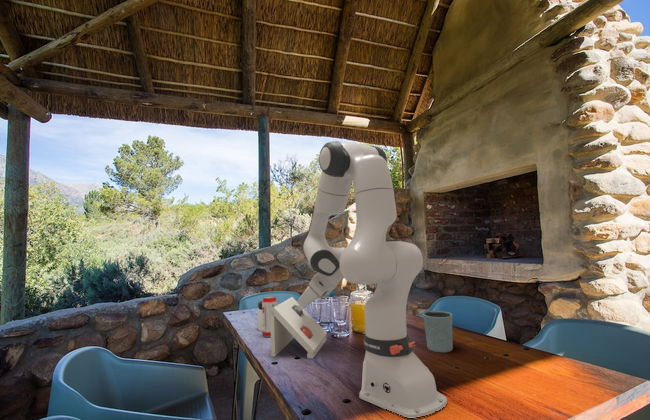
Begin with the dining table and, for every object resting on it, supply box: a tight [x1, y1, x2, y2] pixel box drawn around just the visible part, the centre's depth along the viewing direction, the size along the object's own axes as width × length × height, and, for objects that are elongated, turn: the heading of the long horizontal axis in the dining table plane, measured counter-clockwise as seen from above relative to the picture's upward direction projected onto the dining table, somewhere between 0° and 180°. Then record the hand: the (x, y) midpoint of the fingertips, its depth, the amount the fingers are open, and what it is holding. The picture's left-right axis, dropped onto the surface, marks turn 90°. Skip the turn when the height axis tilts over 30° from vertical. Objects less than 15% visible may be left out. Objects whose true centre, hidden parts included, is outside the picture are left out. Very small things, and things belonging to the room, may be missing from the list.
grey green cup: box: [422, 310, 454, 353], centre depth 121 cm, size 10×10×12 cm
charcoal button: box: [293, 306, 303, 316], centre depth 131 cm, size 5×4×5 cm
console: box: [270, 296, 328, 359], centre depth 126 cm, size 16×20×17 cm
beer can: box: [262, 295, 278, 338], centre depth 143 cm, size 6×6×16 cm
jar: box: [256, 300, 263, 333], centre depth 153 cm, size 9×8×12 cm
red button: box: [300, 326, 312, 338], centre depth 122 cm, size 5×4×5 cm
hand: (299, 309), depth 131 cm, fingers closed, pressing on charcoal button
